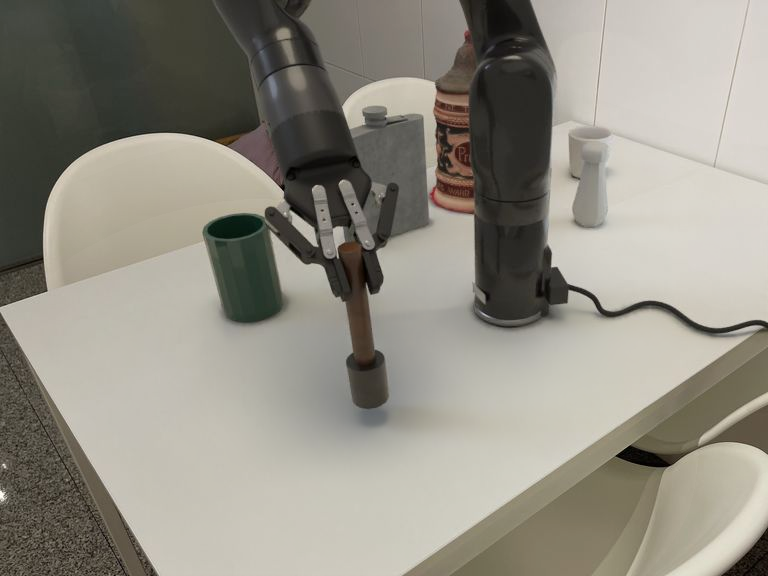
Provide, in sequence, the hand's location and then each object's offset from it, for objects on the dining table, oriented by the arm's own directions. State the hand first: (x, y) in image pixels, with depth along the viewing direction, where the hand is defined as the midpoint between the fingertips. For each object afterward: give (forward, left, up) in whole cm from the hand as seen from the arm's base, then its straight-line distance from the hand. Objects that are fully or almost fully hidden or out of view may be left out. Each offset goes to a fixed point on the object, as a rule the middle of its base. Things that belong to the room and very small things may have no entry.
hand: (361, 294), depth 65 cm
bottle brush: (0, -2, -14) cm, 14 cm away
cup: (-44, -61, -17) cm, 77 cm away
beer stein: (-22, -59, -17) cm, 65 cm away
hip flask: (-5, -46, -17) cm, 49 cm away
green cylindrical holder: (+15, -28, -17) cm, 36 cm away
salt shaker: (-38, -43, -17) cm, 60 cm away
